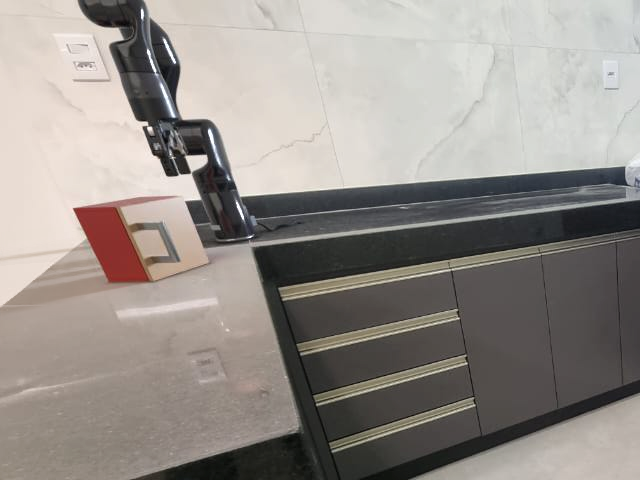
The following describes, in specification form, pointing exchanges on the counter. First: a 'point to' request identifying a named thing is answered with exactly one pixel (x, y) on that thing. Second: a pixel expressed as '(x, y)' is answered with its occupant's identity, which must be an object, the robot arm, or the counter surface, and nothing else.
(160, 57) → the robot arm
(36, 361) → the counter surface
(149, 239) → the wooden cabinet door
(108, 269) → the red cabinet
